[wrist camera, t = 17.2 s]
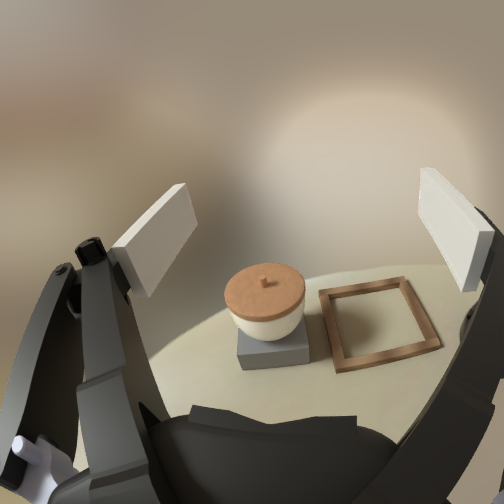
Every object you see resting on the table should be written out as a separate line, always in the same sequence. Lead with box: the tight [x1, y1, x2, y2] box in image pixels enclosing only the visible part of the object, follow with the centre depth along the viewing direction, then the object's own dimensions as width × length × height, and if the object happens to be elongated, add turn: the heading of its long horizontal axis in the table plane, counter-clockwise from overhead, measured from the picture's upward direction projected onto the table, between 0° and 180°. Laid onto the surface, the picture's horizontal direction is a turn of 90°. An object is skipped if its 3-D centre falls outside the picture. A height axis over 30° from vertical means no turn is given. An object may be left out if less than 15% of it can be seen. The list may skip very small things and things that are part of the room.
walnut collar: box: [319, 276, 441, 373], centre depth 42 cm, size 17×17×1 cm
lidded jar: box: [225, 263, 305, 341], centre depth 39 cm, size 11×11×9 cm
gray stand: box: [237, 312, 310, 370], centre depth 43 cm, size 10×10×4 cm
